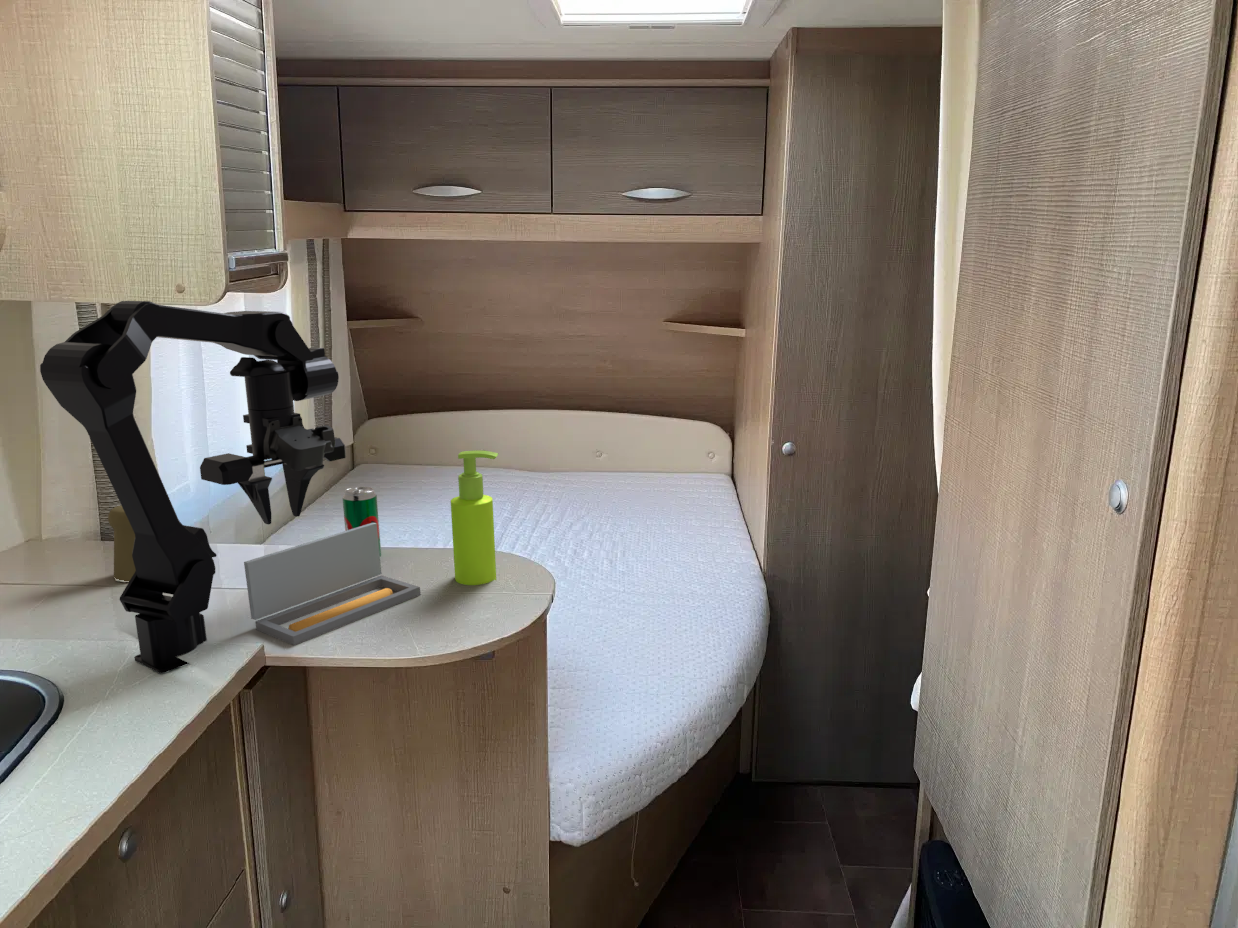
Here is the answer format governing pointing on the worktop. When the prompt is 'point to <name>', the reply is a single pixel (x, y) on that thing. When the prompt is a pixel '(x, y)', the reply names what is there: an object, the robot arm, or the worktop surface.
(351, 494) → the soda can
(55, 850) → the worktop surface
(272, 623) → the grey rectangular tray
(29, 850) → the worktop surface
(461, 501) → the soap dispenser
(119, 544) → the cork
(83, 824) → the worktop surface
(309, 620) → the orange rounded rod
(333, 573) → the cover
